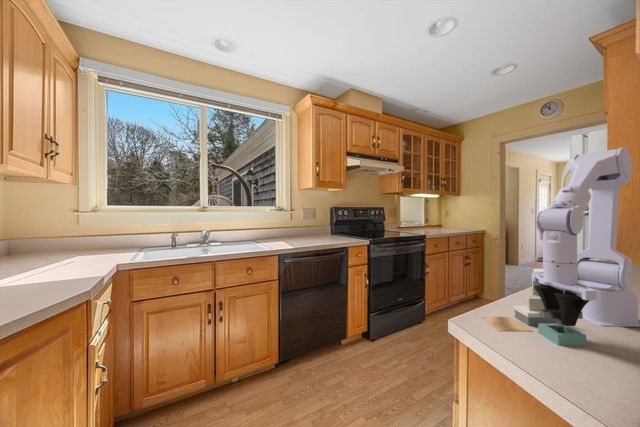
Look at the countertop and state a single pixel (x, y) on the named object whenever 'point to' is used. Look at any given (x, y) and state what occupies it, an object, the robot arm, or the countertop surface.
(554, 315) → the t key
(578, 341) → the key socket
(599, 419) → the countertop surface
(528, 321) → the box
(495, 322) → the cork mat
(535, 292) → the pill bottle
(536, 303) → the cover
